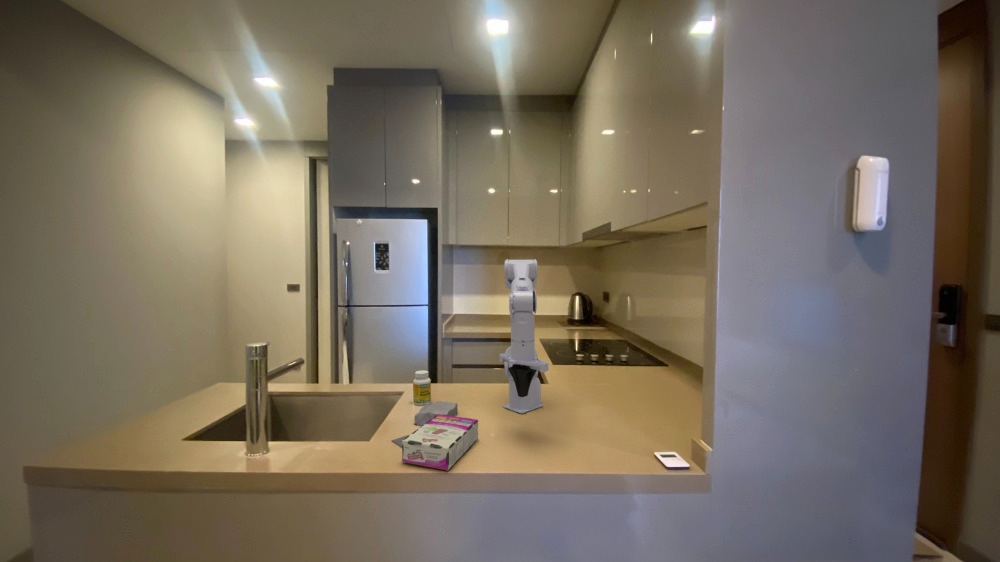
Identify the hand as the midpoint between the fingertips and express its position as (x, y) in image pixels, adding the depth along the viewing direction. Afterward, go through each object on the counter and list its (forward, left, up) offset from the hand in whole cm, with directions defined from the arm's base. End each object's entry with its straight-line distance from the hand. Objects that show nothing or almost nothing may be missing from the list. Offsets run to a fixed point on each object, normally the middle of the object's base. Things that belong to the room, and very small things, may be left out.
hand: (522, 395), depth 96 cm
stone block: (+8, -25, -11) cm, 29 cm away
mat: (+18, -14, -10) cm, 25 cm away
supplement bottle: (+4, -39, -11) cm, 41 cm away
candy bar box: (+11, -12, -8) cm, 18 cm away
